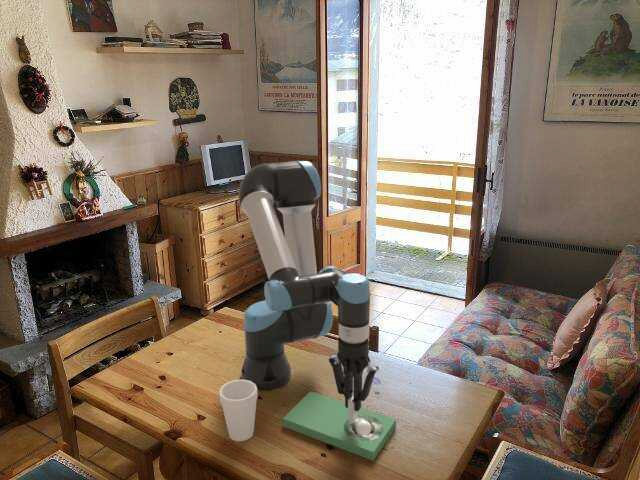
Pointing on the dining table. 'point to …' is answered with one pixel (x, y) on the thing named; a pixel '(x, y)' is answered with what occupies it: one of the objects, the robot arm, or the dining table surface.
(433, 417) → the dining table surface
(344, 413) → the green
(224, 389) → the foam cup
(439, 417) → the dining table surface
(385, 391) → the dining table surface
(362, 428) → the ball
